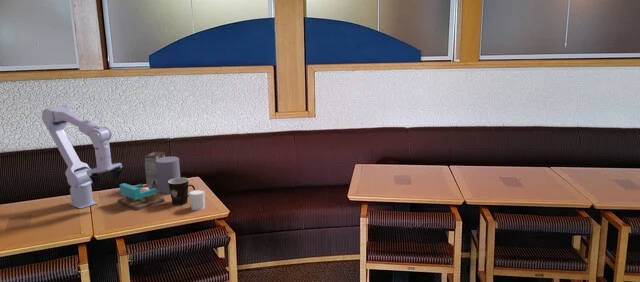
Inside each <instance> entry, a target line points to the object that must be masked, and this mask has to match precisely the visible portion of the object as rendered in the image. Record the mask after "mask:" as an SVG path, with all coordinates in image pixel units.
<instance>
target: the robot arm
mask: <svg viewBox="0 0 640 282" xmlns="http://www.w3.org/2000/svg"><path fill="white" fill-rule="evenodd" d="M41 121H42V122H43V123H44V125H45V128H46V129H47V130H48V133H49V135H50V136H51V138H52V140H53V142H54V144H55V146H56V148H57V150H58V151H59V153H60V155H61V157H62V158H63V160H64V162H65V164H66V166H67V167H66V168H67V169H66V170H65V172H64V175H65V176H66V180H67V184H68V185H69V186H70V189H69V193H70V199H71V202H70V203H69V205H70V206H74V207H76V208H77V209H80V210H81V209H84V208H86V207H90V206H94V205H98V201H95V200H94V198H93V189H92V184H94V188H95V190H96V191H98V192H100V191H101V183H100V182H101V181H100V180H101V176H100V175H99V174H100V173H101V174H102V173H104V172H110V173H111V176H112V184H113V186H114V187H118V186H119V179H120V176H121V174H122V168H123V163H121V162H115V163H112V156H111V155H112V154H111V146H110V140H111V139H112V132H111V130H110V128H108V127H107V126H100V125H99V124H96V123H94V122H93V121H92V120H91V119H88V118H87V119H82V118H81V117H80V116H78V115H76V114H75V113H74V112H72V110H71V108H70V107H68V106H67V105H60V106H55V107H50V108H44V109H43V111H42V113H41ZM68 123H69V124H70V125H74V126H75V127H77V128H78V131H79V132H81V133H82V134H84V135H85V136H86V137H88V138H89V139H90V141H91V143H92V146H93V148H94V153H95V160H96V167H94V168H91V167H90V166H89V164H88V163H86V162H83V161H81V160H80V157H79V156H78V154H77V152H76V151H75V148H74V147H73V145H72V142H71V141H70V138H69V137H68V136H67V133H66V132H65V130H64V128H65V127H66V126H67V125H68Z"/></svg>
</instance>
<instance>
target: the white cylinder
mask: <svg viewBox="0 0 640 282" xmlns="http://www.w3.org/2000/svg"><path fill="white" fill-rule="evenodd" d="M188 195H189V197H188V199H189V203H190V209H191V210H192V211H202V210H203V209H205V207H206V190H204V189H195V190H194V189H193V190H190V191H188Z"/></svg>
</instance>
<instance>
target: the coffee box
mask: <svg viewBox="0 0 640 282" xmlns="http://www.w3.org/2000/svg"><path fill="white" fill-rule="evenodd" d="M162 157H166V152H165V151H152V152H150V153H148V154H146V155H144V156H143V161H144V162H143V163H144V171H145V178H146V187H148V188H149V190H151V189H157V190H158V181H157V170H156V159H158V158H162Z"/></svg>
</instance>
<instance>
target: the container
mask: <svg viewBox="0 0 640 282" xmlns="http://www.w3.org/2000/svg"><path fill="white" fill-rule="evenodd" d="M156 170H157V181H158V189H157V192H158V193H160V194H163V193H165V194H168V195H169V194H170V189H169V185H168V181H169V180H171V179H174V178H181V169H180V158H179V157H178V156H165V157H162V158H158V159H156ZM165 194H164V195H165ZM170 195H171V194H170Z"/></svg>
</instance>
